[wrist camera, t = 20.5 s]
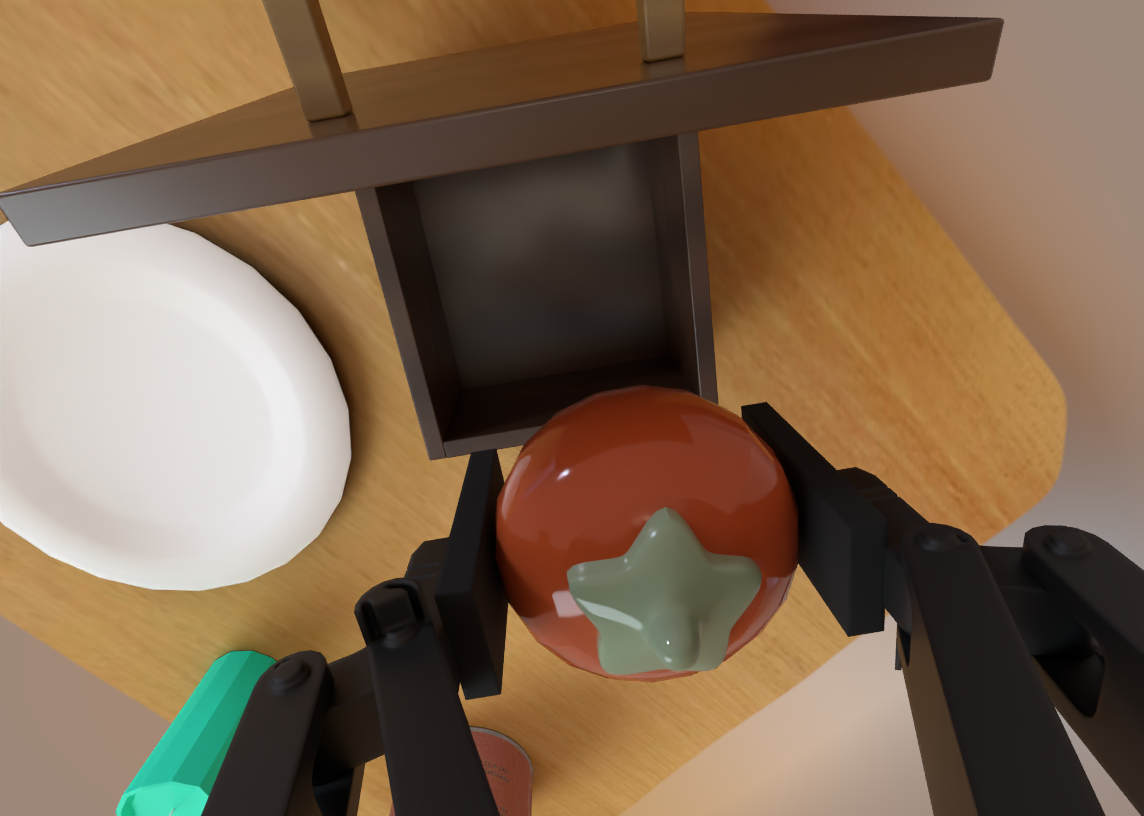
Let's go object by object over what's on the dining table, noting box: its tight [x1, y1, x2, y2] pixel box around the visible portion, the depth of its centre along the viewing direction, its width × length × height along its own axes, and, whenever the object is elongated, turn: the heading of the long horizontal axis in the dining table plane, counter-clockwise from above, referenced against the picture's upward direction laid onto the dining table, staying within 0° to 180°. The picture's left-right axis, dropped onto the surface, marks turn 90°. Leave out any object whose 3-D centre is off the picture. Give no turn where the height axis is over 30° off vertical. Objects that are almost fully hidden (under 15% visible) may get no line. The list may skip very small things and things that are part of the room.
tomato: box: [493, 385, 800, 682], centre depth 14 cm, size 7×7×8 cm
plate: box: [0, 221, 352, 591], centre depth 37 cm, size 25×25×2 cm
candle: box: [115, 651, 276, 816], centre depth 40 cm, size 6×6×12 cm
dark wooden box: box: [355, 131, 718, 460], centre depth 31 cm, size 17×15×9 cm
